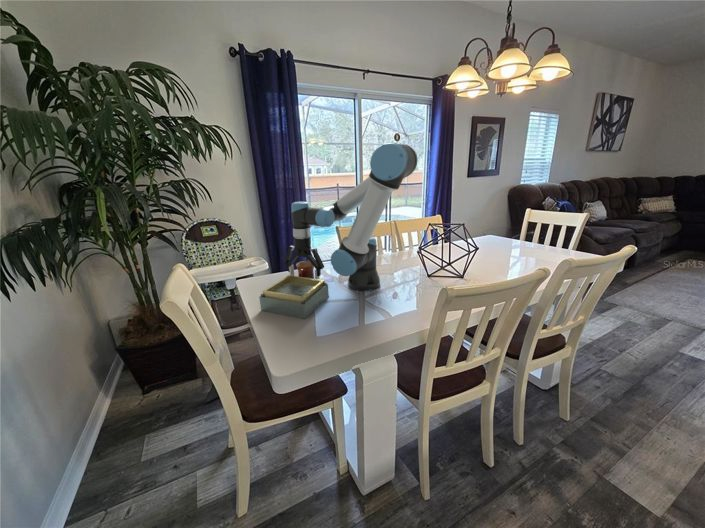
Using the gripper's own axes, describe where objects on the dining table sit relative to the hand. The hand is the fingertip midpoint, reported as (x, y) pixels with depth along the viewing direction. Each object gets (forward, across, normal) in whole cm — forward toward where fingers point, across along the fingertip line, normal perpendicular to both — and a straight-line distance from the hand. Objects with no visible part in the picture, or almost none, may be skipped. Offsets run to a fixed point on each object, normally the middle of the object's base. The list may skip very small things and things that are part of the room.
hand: (304, 280), depth 136 cm
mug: (+3, 0, 0) cm, 3 cm away
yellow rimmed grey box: (+3, -5, +18) cm, 19 cm away
